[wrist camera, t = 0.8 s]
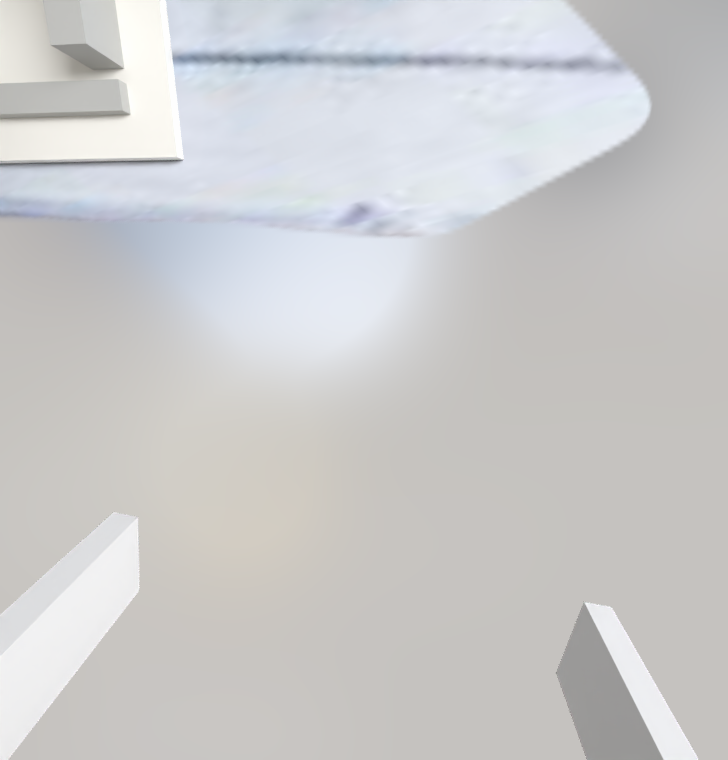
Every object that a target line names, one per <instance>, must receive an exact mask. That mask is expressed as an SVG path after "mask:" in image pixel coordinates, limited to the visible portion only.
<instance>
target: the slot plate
mask: <svg viewBox="0 0 728 760" xmlns="http://www.w3.org/2000/svg"><path fill="white" fill-rule="evenodd" d="M145 160H184V159H183V150H182V141H181V132H180V123H179V114H178V105H177V96H176V87H175V78H174V69H173V60H172V51H171V42H170V33H169V24H168V15H167V6H166V0H0V163H47V162H96V161H145Z"/></svg>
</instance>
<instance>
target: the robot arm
mask: <svg viewBox="0 0 728 760" xmlns="http://www.w3.org/2000/svg"><path fill="white" fill-rule="evenodd" d="M138 540H139V537H138V517H137V516H131V515H126V514H120V513H116V512H113V513H112V514H111V515H110V516H109V517H107V518H106V519H105V520H104V521H103V522H102V523H101V524H100V525H99V526H97V528H95V529H94V530H93V531H92V532H91V533H90V534H89V535H88V536H87V537H86V538H84V539H83V540H82V541H81V542H80V543H79V544H78V545H77V546H75V547H74V548H73V549H72V550H71V551H70V552H69V553H68V554H67V555H66V556H64V557H63V558H62V559H61V560H60V561H59V562H58V563H57V564H56V565H55V566H53V567H52V568H51V569H50V570H49V571H48V572H47V573H46V574H45V575H44V576H42V577H41V578H40V579H39V580H38V581H37V582H36V583H35V584H34V585H33V586H31V587H30V588H29V589H28V590H27V591H26V592H25V593H24V594H23V595H21V596H20V597H19V598H18V599H17V600H16V601H15V602H14V603H13V604H12V605H11V606H9V607H8V608H7V609H6V610H5V611H4V612H3V613H2V614H1V615H0V760H8V759H9V758H10V756H11V755H12V754H13V753H14V751H15V750H16V749H17V747H18V746H19V745H20V744H21V742H22V741H23V740H24V738H25V737H26V736H27V734H28V733H29V732H30V730H31V729H32V728H33V727H34V726H35V724H36V723H37V722H38V720H39V719H40V718H41V716H42V715H43V714H44V712H45V711H46V710H47V709H48V707H49V706H50V705H51V704H52V702H53V701H54V700H55V698H56V697H57V696H58V695H59V693H60V692H61V691H62V689H63V688H64V687H65V686H66V684H67V683H68V682H69V680H70V679H71V678H72V676H73V675H74V674H75V673H76V671H77V670H78V669H79V667H80V666H81V665H82V664H83V662H84V661H85V660H86V658H87V657H88V656H89V654H90V653H91V652H92V651H93V649H94V648H95V647H96V645H97V644H98V643H99V642H100V640H101V639H102V637H103V636H104V635H105V634H106V633H107V631H108V630H109V629H110V627H111V626H112V625H113V624H114V622H115V621H116V620H117V618H118V617H119V616H120V615H121V613H122V612H123V611H124V609H125V608H126V607H127V605H128V604H129V603H130V602H131V600H132V599H133V597H134V596H135V595H136V594H137V592H138V591H139V541H138ZM556 674H557V677H558V679H559V682H560V685H561V688H562V691H563V694H564V697H565V699H566V702H567V705H568V708H569V710H570V713H571V716H572V719H573V722H574V725H575V728H576V730H577V733H578V736H579V739H580V742H581V744H582V747H583V750H584V753H585V756H586V759H587V760H699V759H698V758H697V756H696V754H695V752H694V751H693V749H692V747H691V745H690V744H689V742H688V740H687V738H686V737H685V735H684V733H683V731H682V730H681V728H680V726H679V725H678V723H677V721H676V719H675V717H674V716H673V714H672V712H671V710H670V709H669V707H668V706H667V704H666V702H665V700H664V698H663V696H662V695H661V693H660V691H659V689H658V688H657V686H656V684H655V682H654V681H653V679H652V677H651V675H650V674H649V672H648V671H647V668H646V667H645V665H644V663H643V661H642V660H641V658H640V656H639V655H638V653H637V651H636V649H635V647H634V646H633V644H632V642H631V641H630V639H629V637H628V635H627V633H626V632H625V630H624V628H623V627H622V625H621V623H620V621H619V620H618V618H617V616H616V614H615V613H614V611H613V609H612V607H609V606H603V605H598V604H592V603H587V602H584V603H583V606H582V608H581V611H580V614H579V616H578V619H577V621H576V624H575V626H574V629H573V631H572V634H571V636H570V639H569V641H568V644H567V646H566V649H565V652H564V654H563V657H562V659H561V661H560V664H559V667H558V669H557V672H556Z"/></svg>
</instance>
